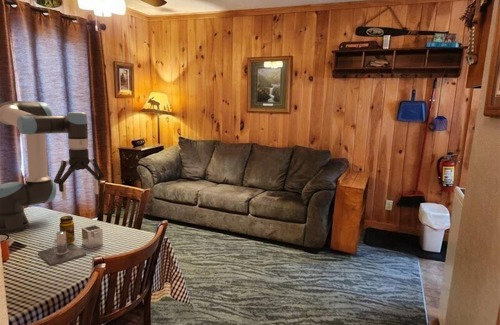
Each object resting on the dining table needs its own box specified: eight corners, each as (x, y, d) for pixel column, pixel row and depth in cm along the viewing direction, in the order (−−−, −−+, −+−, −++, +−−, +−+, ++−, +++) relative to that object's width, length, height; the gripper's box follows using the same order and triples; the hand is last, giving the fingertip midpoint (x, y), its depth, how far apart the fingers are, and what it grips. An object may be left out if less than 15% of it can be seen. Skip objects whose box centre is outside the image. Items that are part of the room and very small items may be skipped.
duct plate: (38, 253, 144) (36, 232, 142) (72, 244, 154) (71, 224, 153) (50, 265, 134) (49, 242, 133) (86, 255, 145) (85, 233, 143)
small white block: (82, 244, 156) (81, 227, 154) (96, 240, 161) (96, 224, 159) (90, 249, 151) (89, 232, 149) (104, 245, 155) (104, 229, 154)
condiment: (76, 242, 157) (75, 218, 155) (55, 246, 153) (54, 221, 151) (74, 237, 163) (73, 213, 161) (54, 240, 158) (53, 216, 156)
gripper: (49, 151, 131) (52, 203, 134) (111, 147, 149) (112, 193, 153) (43, 149, 136) (46, 199, 139) (103, 145, 154) (105, 190, 158)
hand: (80, 196), depth 146 cm, fingers open, 13 cm apart
